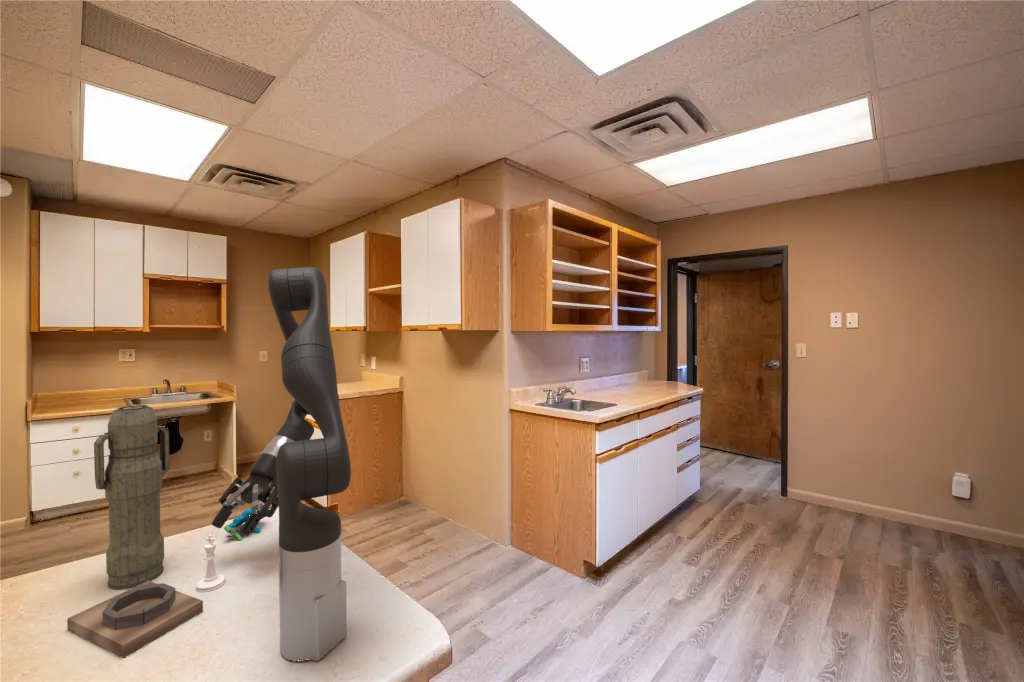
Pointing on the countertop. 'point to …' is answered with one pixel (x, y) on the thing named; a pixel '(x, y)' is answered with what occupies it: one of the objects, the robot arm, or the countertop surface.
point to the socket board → (134, 633)
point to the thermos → (133, 494)
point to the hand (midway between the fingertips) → (229, 530)
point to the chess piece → (210, 570)
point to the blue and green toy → (240, 523)
